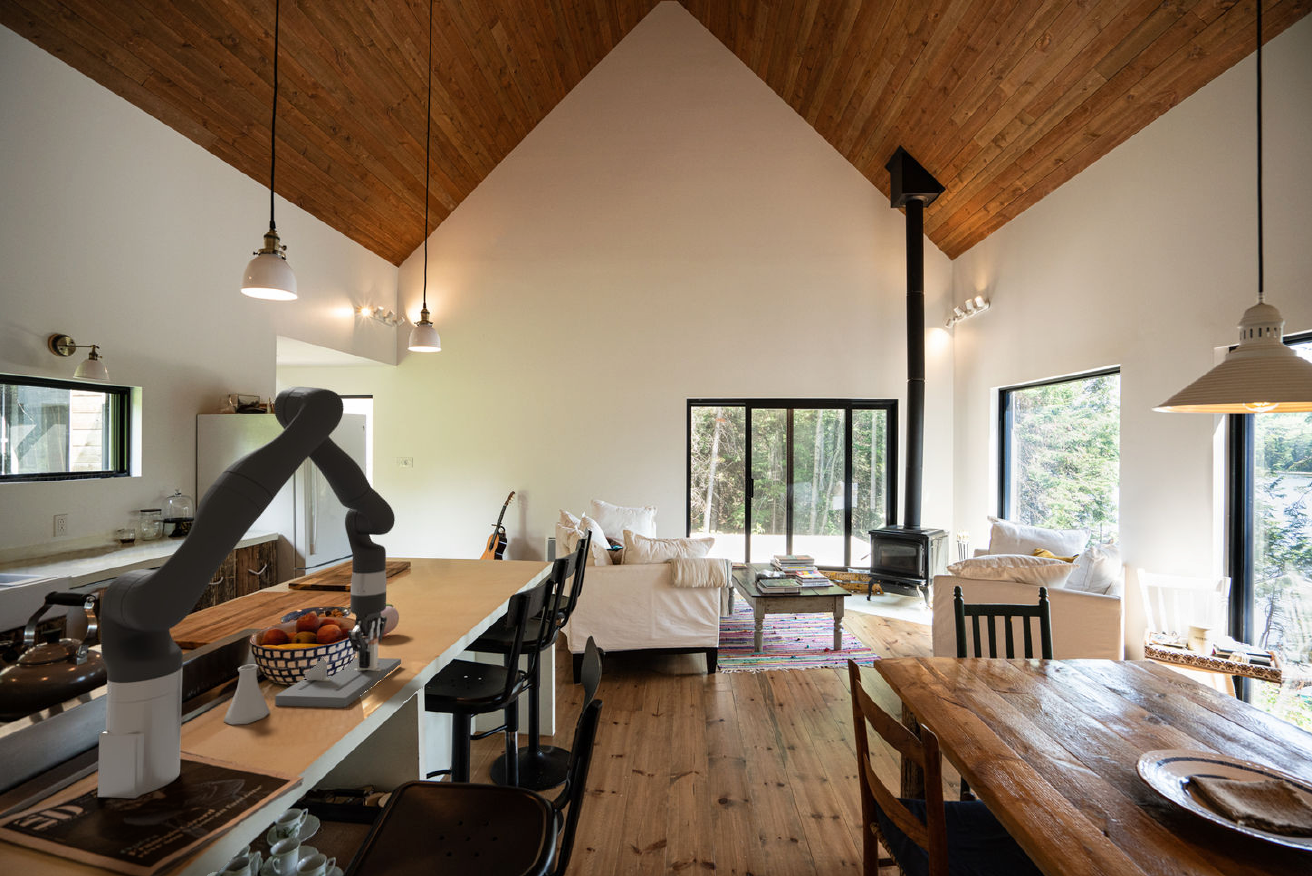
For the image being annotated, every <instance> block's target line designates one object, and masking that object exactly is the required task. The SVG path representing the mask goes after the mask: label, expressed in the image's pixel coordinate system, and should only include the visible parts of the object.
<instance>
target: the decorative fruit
mask: <svg viewBox="0 0 1312 876" xmlns="http://www.w3.org/2000/svg"><path fill="white" fill-rule="evenodd" d="M381 616H382V617H387V621H386V625H385V629H384V633H383V635H384V636H386V635H388V634H389V633H391V632H392V631H394V630H395V629H396V627H397V626H398V623H399V622H400V613H399V612H398V610H397V609H396V608H395V607H394V605H393V604H392V603H386V609H385V610H384V611H382V612H381ZM387 633H388V634H387Z"/></svg>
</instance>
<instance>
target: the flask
mask: <svg viewBox="0 0 1312 876" xmlns="http://www.w3.org/2000/svg"><path fill="white" fill-rule="evenodd" d="M258 669H259V665H258V664H255V663H252V664H251V663H250V664H244V665H241V666H240V667H238V668H237V672H239V678H238V683H237V688H236V690H235V693H234V695H233V697H232V701H231V702H230V705H229V707H228V710H227V711H226V714H225V715H224V718H223V722H225V723H227V724H230V725H248V724H250V723H253V722H255V721H259V720H262V719H264V718H265V717H266V716H267V715H269V714H270V713H271V711H270V708H269V706H268V703H267V702H266V700H265V698H264V695H263V693H262V690H261V688H260V686H259V682H258V677H257V670H258Z"/></svg>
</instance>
